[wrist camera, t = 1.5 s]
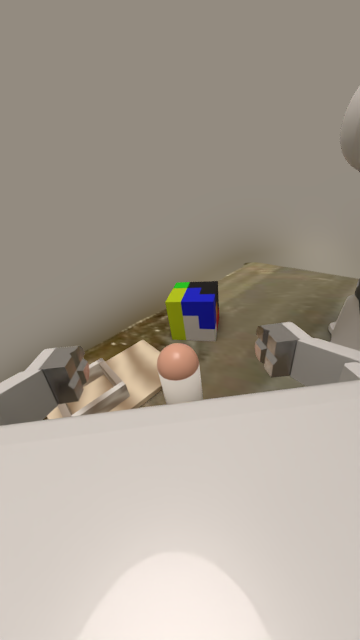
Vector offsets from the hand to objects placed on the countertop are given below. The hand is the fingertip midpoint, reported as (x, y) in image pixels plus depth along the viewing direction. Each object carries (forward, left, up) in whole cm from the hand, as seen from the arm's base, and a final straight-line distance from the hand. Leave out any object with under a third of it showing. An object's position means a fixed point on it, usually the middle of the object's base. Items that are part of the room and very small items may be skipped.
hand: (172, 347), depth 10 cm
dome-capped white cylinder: (-2, -11, -23) cm, 26 cm away
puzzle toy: (-13, -33, -24) cm, 42 cm away
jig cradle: (+8, -23, -23) cm, 33 cm away
